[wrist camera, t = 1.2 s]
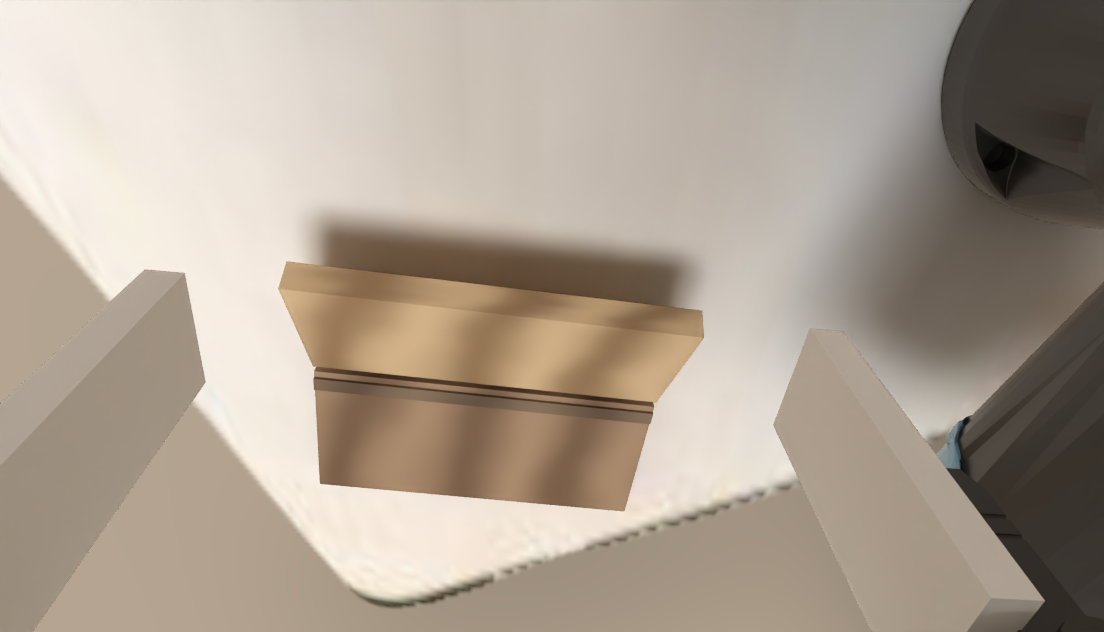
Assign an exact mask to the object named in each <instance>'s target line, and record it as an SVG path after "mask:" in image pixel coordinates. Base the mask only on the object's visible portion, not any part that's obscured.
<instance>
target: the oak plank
mask: <svg viewBox="0 0 1104 632" xmlns="http://www.w3.org/2000/svg"><path fill="white" fill-rule="evenodd" d="M278 289H279V291H280V294H281V296H282V298H283V300H284V303H285V305H286V307H287V309H288V311H289V314H290V316H291V318H292V320H293V323H294V325H295V327H296V329H297V331H298V334H299V336H300V338H301V340H302V343H303V345H304V347H305V349H306V351H307V354H308V356H309V358H310V360H311V363H312V365H313V366H316V367H325V368H335V369H344V370H353V371H363V372H372V373H382V374H391V375H401V376H410V377H420V378H429V379H439V380H448V381H458V382H467V383H477V384H486V385H496V386H505V387H514V388H524V389H533V390H543V391H552V392H562V393H571V394H581V395H590V396H600V397H609V398H619V399H628V400H638V401H647V402H657V401H658V399H659V398H660V396H661V395H662V394H663V392H664V391H665V390H666V388H667V387H668V386H669V384H670V383H671V382H672V380H673V379H674V378H675V376H676V375H677V373H678V372H679V371H680V369H681V368H682V367H683V365H684V364H685V363H686V361H687V360H688V359H689V357H690V356H691V355H692V353H693V352H694V350H695V349H696V348H697V346H698V345H699V344H700V342H701V341H702V340H703V338H704V332H703V315H702V311H700V310H692V309H683V308H675V307H666V306H658V305H649V304H641V303H633V302H624V301H616V300H607V299H599V298H590V297H582V296H574V295H565V294H557V293H548V292H540V291H531V290H523V289H514V288H506V287H498V286H489V285H481V284H472V283H464V282H455V281H447V280H439V279H430V278H422V277H413V276H405V275H396V274H388V273H380V272H371V271H363V270H354V269H346V268H337V267H329V266H321V265H312V264H304V263H295V262H286V265H285V269H284V272H283V275H282V279H281V282H280V285H279V288H278Z"/></svg>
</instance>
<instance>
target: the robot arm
mask: <svg viewBox="0 0 1104 632" xmlns="http://www.w3.org/2000/svg"><path fill="white" fill-rule="evenodd" d="M942 120H943V128H944V133H945V137H946V141H947V144H948V147H949V150H950V152H951V154H952V156H953V158H954V160H955V162H956V164H957V166H958V167H959V168H960V170H961V171H962V173H963V174H964V175H965V176H966V177H967V178H968V180H969V181H971V182H972V183H973V184H974V185H975V186H976V187H977V188H979V189H980V190H981V191H983V192H984V193H986V194H988V195H989V196H991V197H992V198H994V199H996V200H997V201H999V202H1001V203H1002V204H1004V205H1006V206H1007V207H1009V208H1011V209H1012V210H1014V211H1017V212H1019V213H1021V214H1024V215H1026V216H1029V217H1032V218H1035V219H1039V220H1042V221H1046V222H1052V223H1058V224H1066V225H1074V226H1082V227H1090V228H1098V229H1104V0H975V2H974V3H973V5H972V6H971V8H970V10H969V12H968V14H967V16H966V18H965V20H964V22H963V24H962V26H961V28H960V30H959V32H958V35H957V37H956V40H955V42H954V45H953V48H952V51H951V54H950V57H949V61H948V65H947V68H946V73H945V78H944V84H943V93H942ZM204 384H205V377H204V372H203V367H202V361H201V356H200V351H199V346H198V341H197V335H196V330H195V325H194V320H193V314H192V309H191V304H190V299H189V293H188V288H187V283H186V278H185V273H178V272H167V271H156V270H144V271H143V272H142V273H141V274H140V275H138V276H137V277H136V278H135V279H134V280H133V281H132V282H131V283H130V284H129V285H128V286H127V287H125V288H124V289H123V290H122V291H121V292H120V293H119V294H118V295H117V296H116V297H115V298H114V299H113V300H111V301H110V302H109V303H108V304H107V305H106V306H105V307H104V308H103V309H102V310H101V311H100V312H99V313H97V314H96V315H95V316H94V317H93V318H92V319H91V320H90V321H89V322H88V323H87V324H86V325H85V326H84V327H82V329H80V330H79V331H78V332H77V333H76V334H75V335H74V336H73V337H72V338H70V339H69V340H68V341H67V342H66V343H65V344H64V345H63V346H62V347H61V348H60V349H59V350H58V351H57V352H55V353H54V354H53V355H52V356H51V357H50V358H49V359H48V360H47V361H46V362H45V363H44V364H42V365H41V366H40V367H39V368H38V369H37V370H36V371H35V372H34V373H33V374H32V375H31V376H29V377H28V379H26V380H25V381H24V382H23V383H22V384H21V385H20V386H19V387H18V388H17V389H15V390H14V391H13V392H12V393H11V394H10V395H9V396H8V397H7V398H6V399H5V400H4V401H3V402H1V403H0V632H33V631H34V630H35V628H36V627H37V625H38V624H39V622H40V621H41V620H42V618H43V617H44V615H45V614H46V612H47V611H48V609H49V608H50V607H51V605H52V604H53V602H54V601H55V599H56V598H57V596H58V595H59V593H60V592H61V591H62V589H63V588H64V586H65V585H66V583H67V582H68V581H69V579H70V578H71V576H72V575H73V573H74V572H75V570H76V569H77V567H78V566H79V565H80V563H81V562H82V560H83V559H84V557H85V556H86V554H87V553H88V552H89V550H90V549H91V547H92V546H93V544H94V543H95V541H96V540H97V539H98V537H99V535H100V534H101V533H102V531H103V530H104V528H105V527H106V526H107V524H108V523H109V521H110V520H111V518H112V517H113V515H114V514H115V512H116V511H117V509H118V508H119V506H120V505H121V504H122V502H123V501H124V499H125V498H126V496H127V495H128V494H129V492H130V490H131V489H132V488H133V486H134V485H135V484H136V482H137V480H138V479H139V478H140V476H141V475H142V473H143V472H144V470H145V469H146V468H147V466H148V465H149V463H150V462H151V460H152V459H153V457H154V456H155V454H156V453H157V451H158V450H159V449H160V447H161V446H162V444H163V443H164V442H165V440H166V439H167V437H168V436H169V434H170V433H171V431H172V430H173V429H174V427H175V426H176V424H177V423H178V421H179V420H180V418H181V417H182V416H183V414H184V413H185V411H186V410H187V408H188V407H189V405H190V404H191V402H192V401H193V400H194V398H195V397H196V395H197V394H198V392H199V391H200V389H201V388H202V387H203V385H204ZM773 426H774V428H775V430H776V432H777V434H778V436H779V438H780V440H781V442H782V445H783V447H784V449H785V451H786V453H787V455H788V457H789V459H790V461H791V463H792V466H793V468H794V470H795V472H796V474H797V476H798V478H799V480H800V482H801V485H802V487H803V489H804V491H805V493H806V495H807V497H808V499H809V501H810V503H811V506H812V508H813V510H814V512H815V514H816V516H817V518H818V520H819V522H820V525H821V526H822V529H823V531H824V533H825V535H826V537H827V539H828V541H829V544H830V545H831V548H832V550H833V552H834V554H835V556H836V558H837V560H838V563H839V565H840V567H841V569H842V571H843V573H844V575H845V577H846V579H847V581H848V583H849V586H850V588H851V590H852V592H853V594H854V596H855V598H856V600H857V603H858V605H859V607H860V609H861V611H862V613H863V615H864V617H865V619H866V622H867V624H868V626H869V628H870V630H871V632H1104V282H1103V283H1102V284H1101V285H1100V286H1099V287H1098V288H1097V289H1096V290H1095V291H1094V292H1093V293H1092V294H1091V295H1090V296H1089V297H1088V298H1087V299H1086V300H1085V302H1084V303H1083V304H1082V305H1081V306H1080V307H1079V308H1078V309H1077V310H1076V311H1075V312H1074V313H1073V314H1072V315H1071V316H1070V317H1069V318H1068V319H1067V320H1066V321H1065V322H1064V323H1063V324H1062V325H1061V326H1060V327H1059V328H1058V329H1057V330H1056V331H1055V332H1054V333H1053V334H1052V335H1051V336H1050V337H1049V338H1048V339H1047V340H1046V341H1045V342H1044V343H1043V344H1042V345H1041V346H1040V347H1039V348H1038V349H1037V350H1036V351H1035V352H1034V353H1033V354H1032V355H1031V356H1030V357H1029V358H1028V359H1027V360H1026V361H1025V362H1024V363H1023V364H1022V365H1021V366H1020V367H1019V369H1018V370H1017V371H1016V372H1015V373H1014V374H1013V375H1012V376H1011V377H1010V378H1009V379H1008V380H1007V381H1006V382H1005V383H1004V384H1003V385H1002V386H1001V387H1000V388H999V389H998V390H997V391H996V392H995V393H994V394H993V395H992V396H991V397H990V398H989V399H988V400H987V401H986V402H985V403H984V404H983V405H982V406H981V407H980V408H979V409H978V410H977V411H976V412H975V413H974V414H973V415H971V416H968V417H966V418H965V419H964V420H962V421H959V422H958V423H957V424H956V425H955V426H954V427H953V428H952V430H951V432H950V434H949V437H948V442H947V443H946V444H945V445H944V446H943V448H942V449H941V450H940V451H939V452H938V453H937V454H935V453H934V452H933V450H932V449H931V448H930V446H929V445H928V444H927V442H926V441H925V440H924V438H923V437H922V436H921V434H920V433H919V432H918V430H917V429H916V428H915V426H914V425H913V424H912V422H911V421H910V420H909V418H908V417H907V416H906V414H905V413H904V412H903V410H902V409H901V408H900V406H899V405H898V404H897V402H896V401H895V400H894V398H893V397H892V396H891V394H890V393H889V392H888V390H887V389H886V388H885V386H884V385H883V384H882V382H881V381H880V380H879V378H878V377H877V376H876V374H875V373H874V372H873V370H872V369H871V368H870V366H869V365H868V364H867V362H866V361H865V360H864V358H863V357H862V356H861V354H860V353H859V352H858V350H857V349H856V348H855V346H854V345H853V344H852V342H851V341H850V340H849V338H848V337H847V336H846V334H845V333H844V332H843V331H831V330H820V329H810V330H809V333H808V335H807V338H806V341H805V343H804V346H803V349H802V351H801V354H800V356H799V359H798V362H797V364H796V367H795V369H794V372H793V375H792V377H791V380H790V383H789V385H788V388H787V390H786V393H785V396H784V398H783V401H782V403H781V406H780V409H779V411H778V414H777V417H776V419H775V422H774V424H773Z"/></svg>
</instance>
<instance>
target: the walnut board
mask: <svg viewBox="0 0 1104 632" xmlns="http://www.w3.org/2000/svg"><path fill="white" fill-rule="evenodd" d="M314 376H315V377H314V390H315V396H316V415H317V435H318V454H319V474H320V484H328V485H339V486H350V487H361V488H372V489H383V490H394V491H405V492H416V493H427V494H439V495H450V496H461V497H472V498H483V499H494V500H505V501H516V502H527V503H538V504H549V505H560V506H571V507H582V508H593V509H604V510H615V511H625V507H626V504H627V500H628V497H629V493H630V490H631V486H632V482H633V479H634V475H635V472H636V468H637V465H638V461H639V458H640V454H641V451H642V447H643V444H644V440H645V437H646V433H647V430H648V426H649V424H650V423H651V419H652V416H653V409H654V405H653V402H647V401H638V400H628V399H619V398H609V397H600V396H590V395H581V394H571V393H562V392H552V391H543V390H533V389H524V388H514V387H505V386H496V385H486V384H477V383H467V382H458V381H448V380H439V379H429V378H420V377H410V376H401V375H391V374H382V373H372V372H363V371H353V370H344V369H335V368H325V367H316V369H315V371H314Z"/></svg>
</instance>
